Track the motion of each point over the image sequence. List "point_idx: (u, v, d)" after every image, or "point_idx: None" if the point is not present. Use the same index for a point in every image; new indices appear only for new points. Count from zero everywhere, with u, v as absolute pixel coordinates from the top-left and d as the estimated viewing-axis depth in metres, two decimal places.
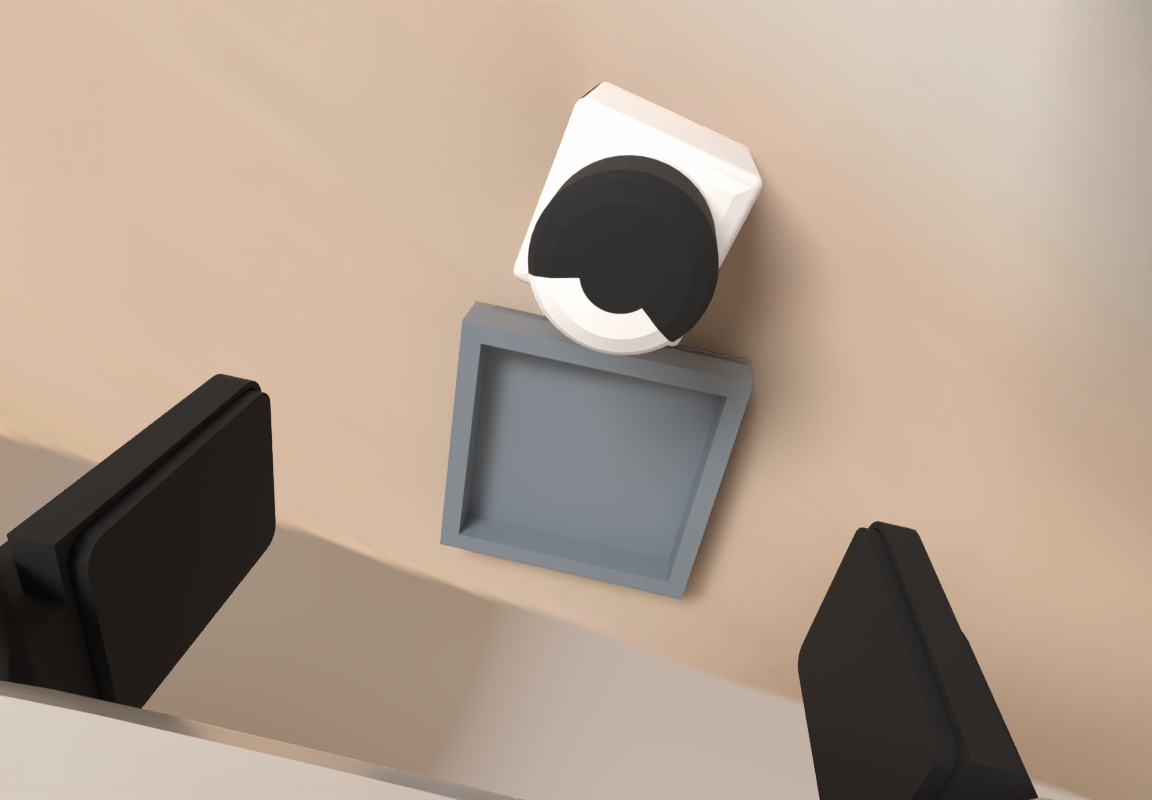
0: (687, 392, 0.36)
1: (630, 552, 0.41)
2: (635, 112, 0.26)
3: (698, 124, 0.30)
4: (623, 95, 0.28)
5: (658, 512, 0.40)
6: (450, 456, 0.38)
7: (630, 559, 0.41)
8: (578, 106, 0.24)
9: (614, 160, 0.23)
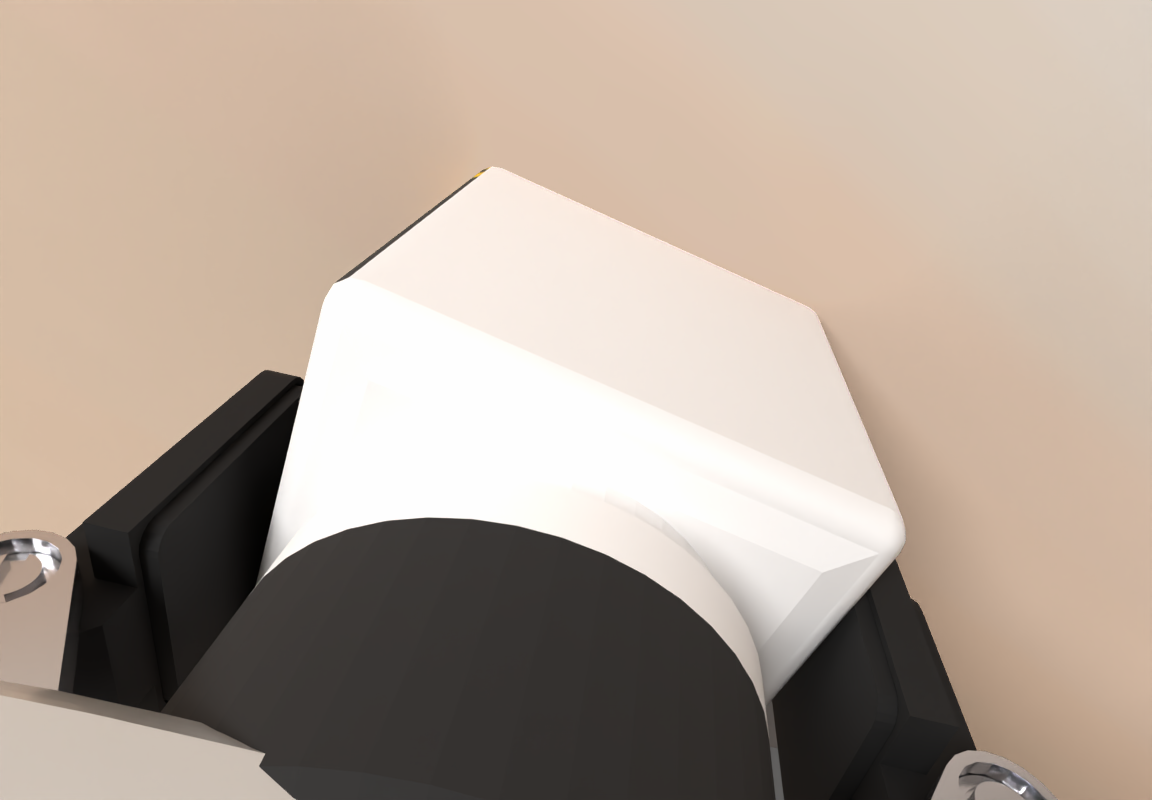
0: None
1: None
2: (531, 291, 0.09)
3: (706, 261, 0.14)
4: (524, 211, 0.12)
5: None
6: None
7: None
8: (327, 309, 0.08)
9: (388, 582, 0.06)
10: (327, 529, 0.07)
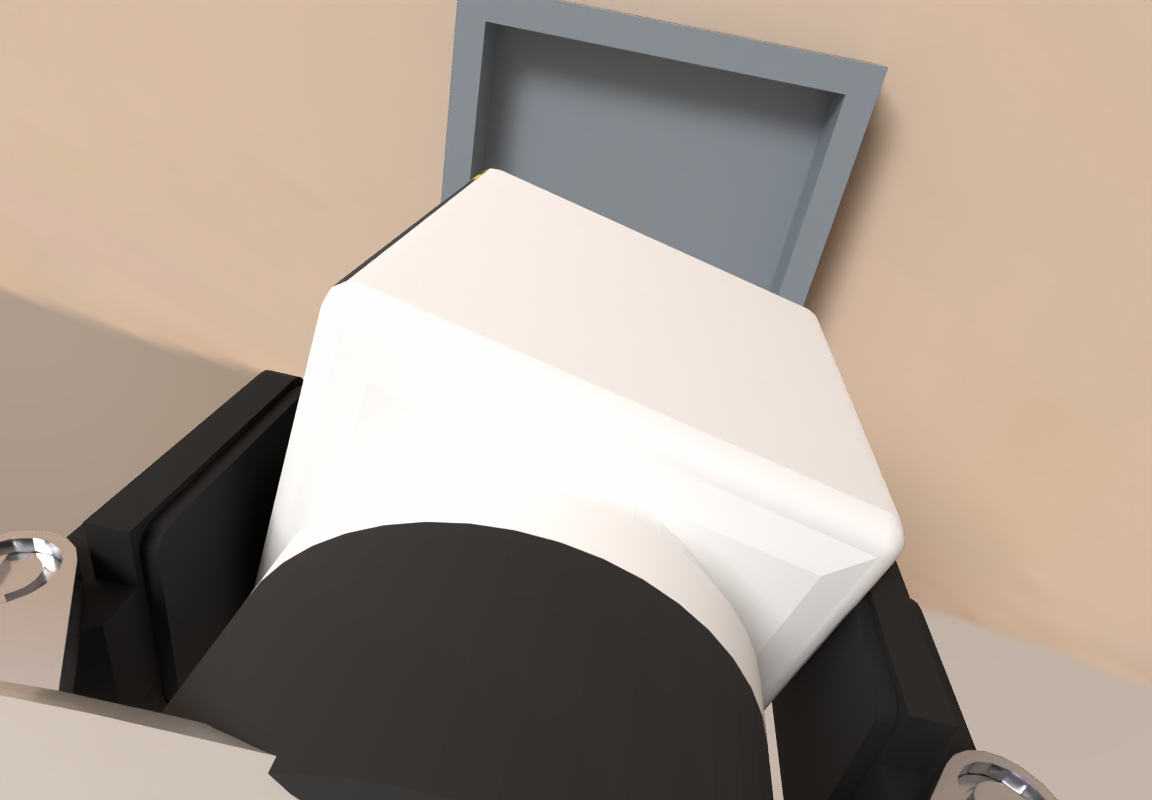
0: (778, 114, 0.25)
1: None
2: (530, 294, 0.09)
3: (705, 263, 0.14)
4: (523, 213, 0.12)
5: None
6: None
7: None
8: (325, 313, 0.08)
9: (386, 587, 0.06)
10: (325, 533, 0.07)
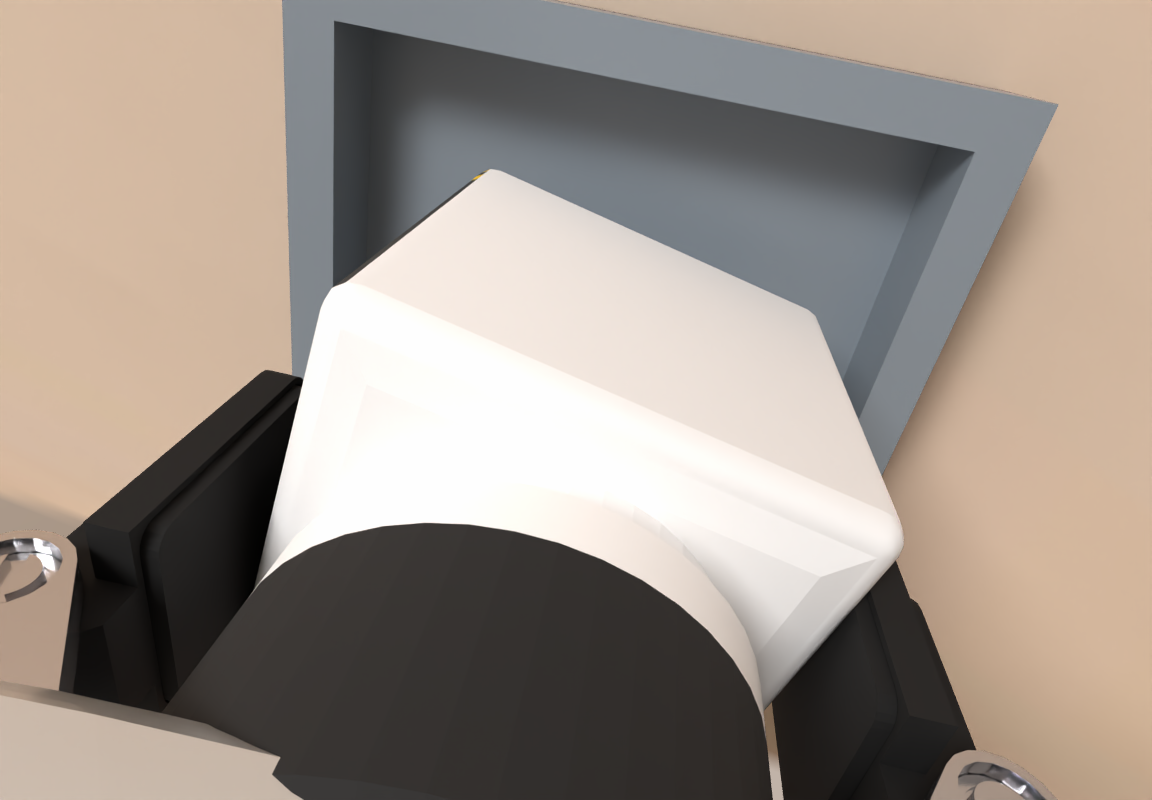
0: (842, 176, 0.15)
1: None
2: (530, 295, 0.09)
3: (704, 264, 0.14)
4: (523, 214, 0.12)
5: None
6: (295, 340, 0.17)
7: None
8: (325, 313, 0.08)
9: (386, 588, 0.06)
10: (325, 534, 0.07)
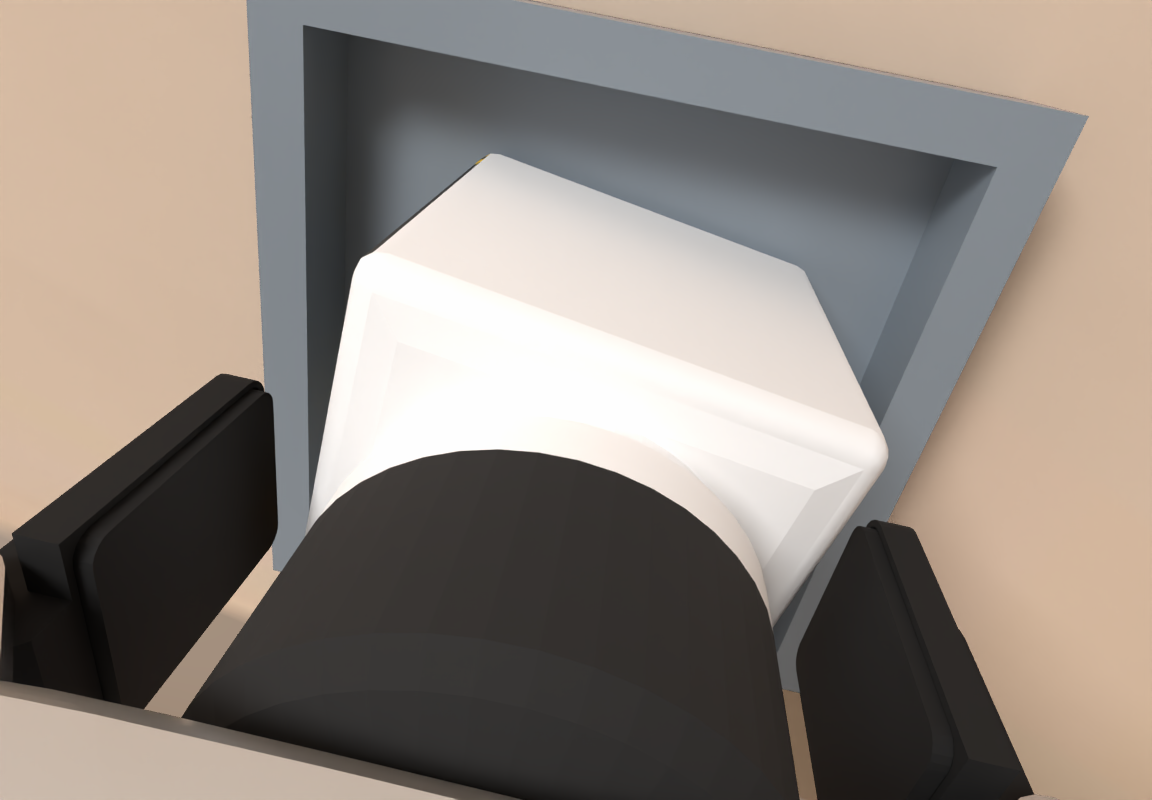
0: (852, 191, 0.14)
1: None
2: (536, 258, 0.10)
3: (697, 229, 0.14)
4: (524, 191, 0.13)
5: None
6: (268, 364, 0.16)
7: None
8: (357, 280, 0.09)
9: (432, 501, 0.07)
10: (371, 471, 0.08)
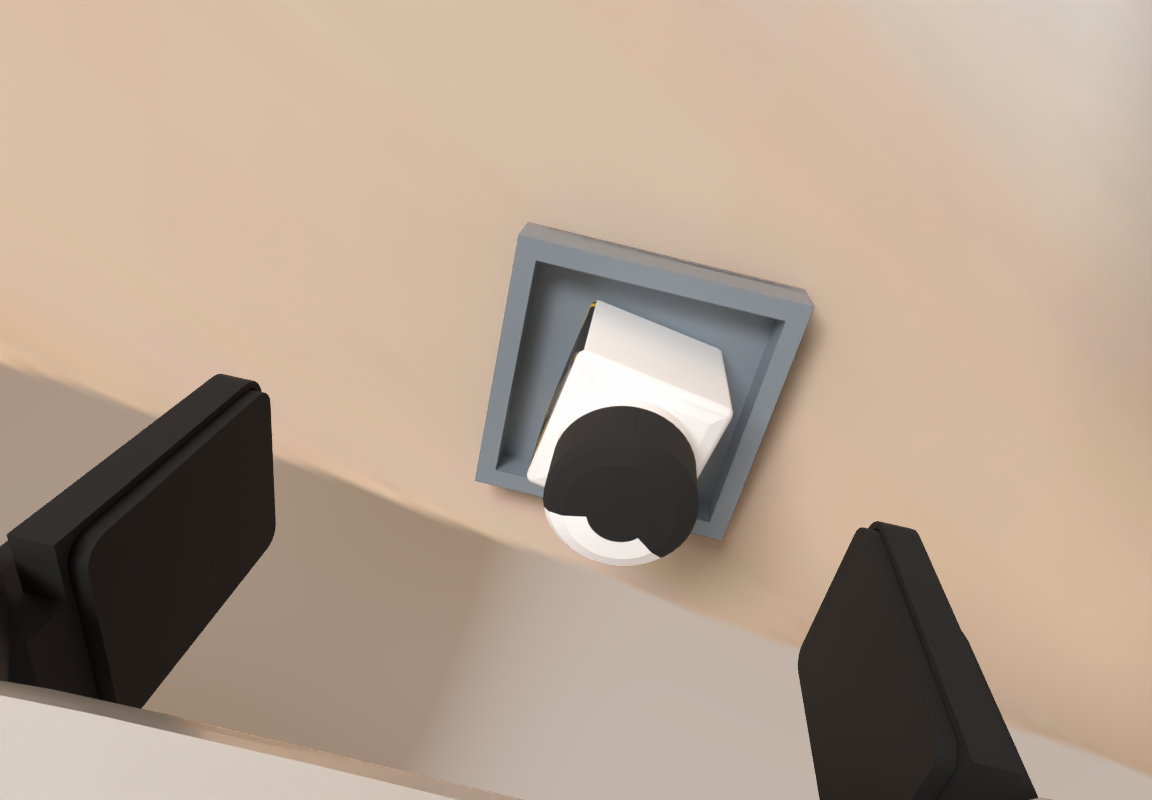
0: (740, 321, 0.36)
1: None
2: (625, 350, 0.31)
3: (678, 332, 0.36)
4: (614, 320, 0.34)
5: None
6: (494, 384, 0.37)
7: None
8: (579, 358, 0.30)
9: (611, 416, 0.28)
10: (586, 411, 0.29)
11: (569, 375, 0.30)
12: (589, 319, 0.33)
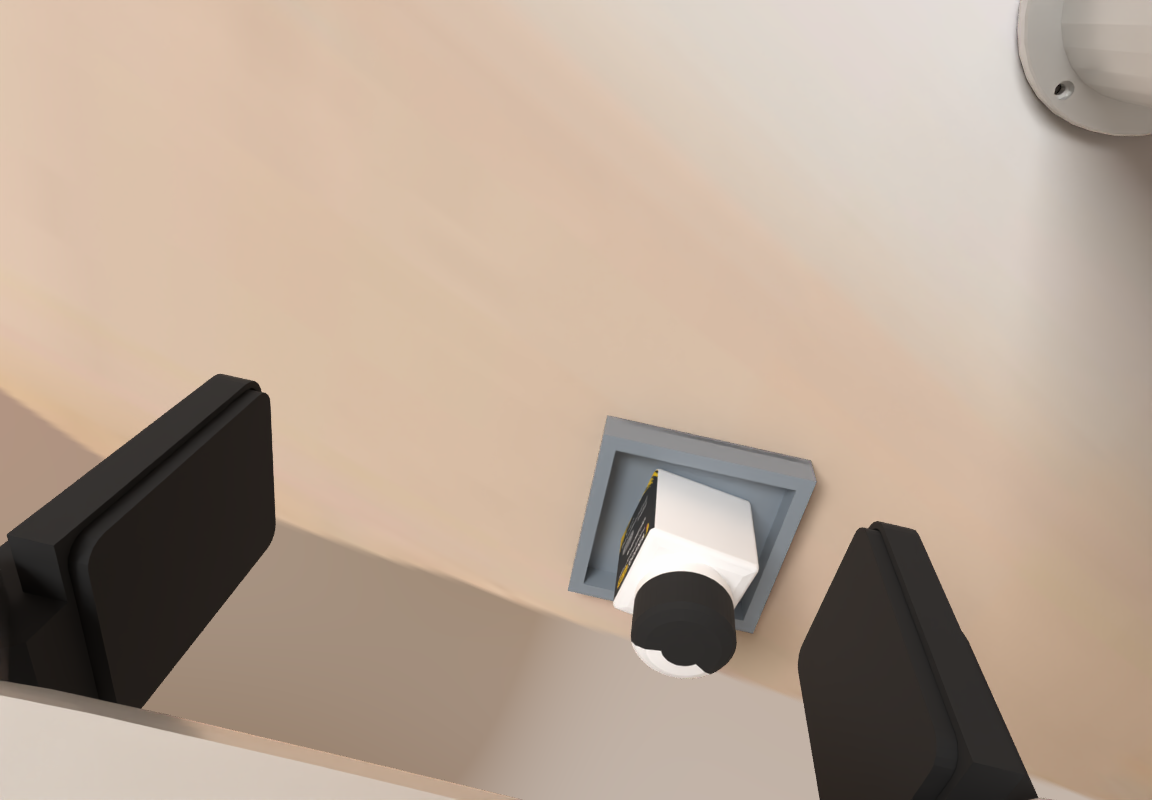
0: (763, 482, 0.49)
1: None
2: (682, 521, 0.45)
3: (718, 491, 0.49)
4: (672, 489, 0.47)
5: None
6: (583, 527, 0.50)
7: None
8: (651, 534, 0.43)
9: (676, 581, 0.41)
10: (658, 573, 0.43)
11: (644, 543, 0.44)
12: (654, 492, 0.47)
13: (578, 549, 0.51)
